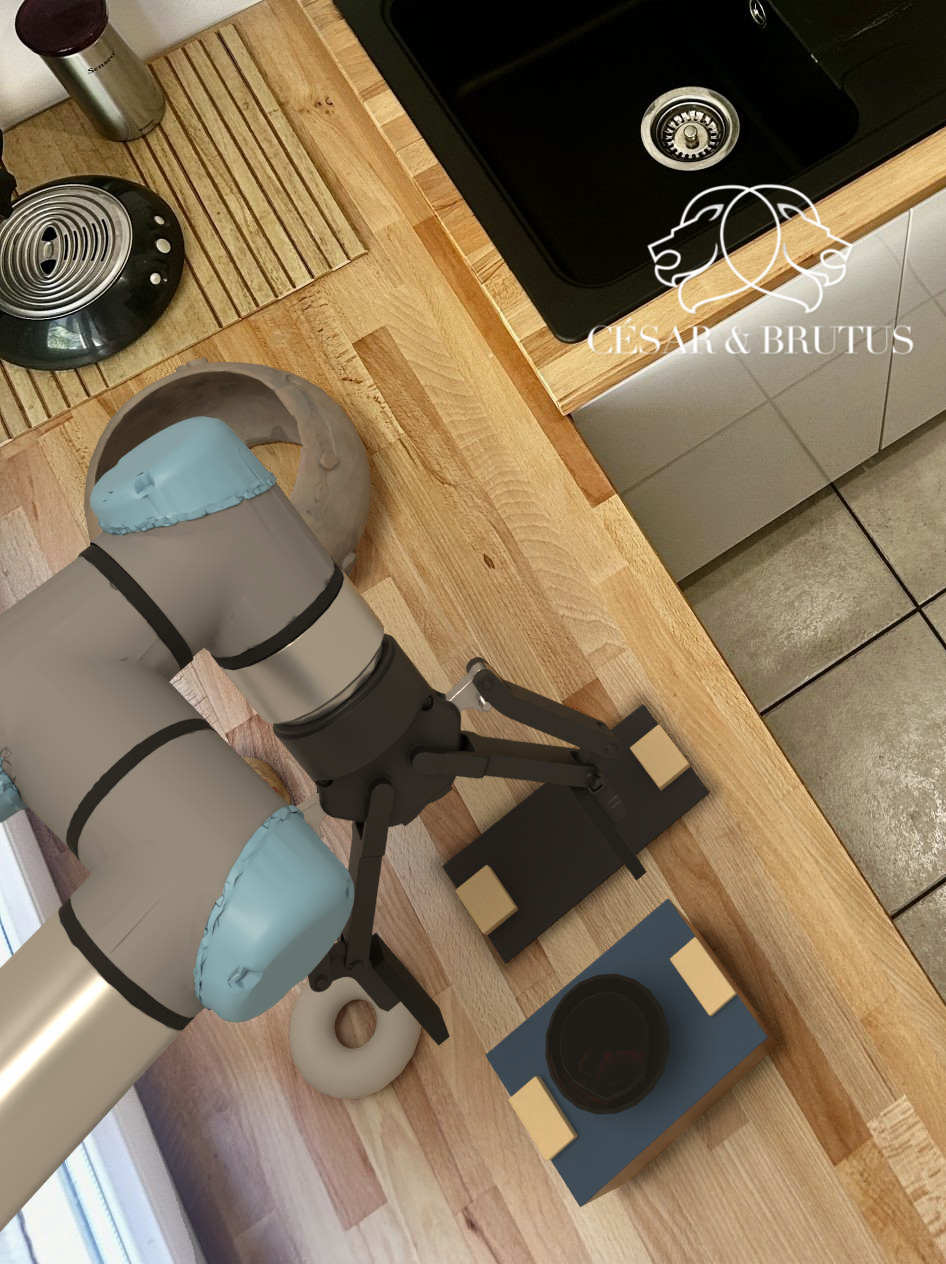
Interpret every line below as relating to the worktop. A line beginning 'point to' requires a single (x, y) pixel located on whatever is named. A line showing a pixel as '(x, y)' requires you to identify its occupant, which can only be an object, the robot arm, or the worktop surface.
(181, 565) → the robot arm
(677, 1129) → the stand
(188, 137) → the worktop surface
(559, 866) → the mat
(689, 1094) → the blue slab
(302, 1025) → the donut
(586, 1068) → the coffee cup
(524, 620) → the worktop surface
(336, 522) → the bowl
